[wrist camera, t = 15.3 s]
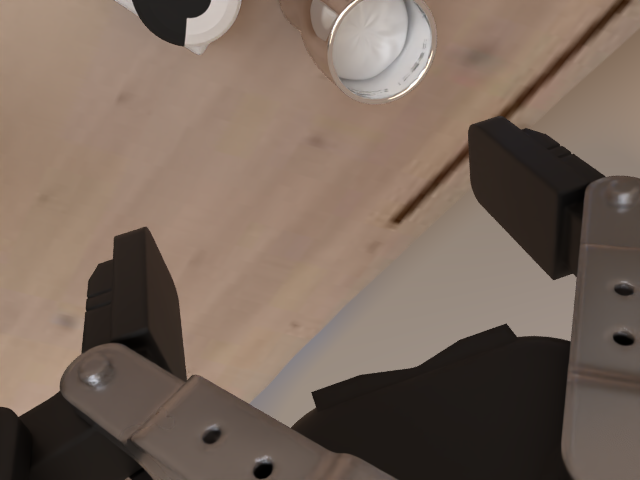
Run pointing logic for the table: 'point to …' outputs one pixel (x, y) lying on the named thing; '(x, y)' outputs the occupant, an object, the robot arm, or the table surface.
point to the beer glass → (367, 44)
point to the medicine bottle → (186, 20)
